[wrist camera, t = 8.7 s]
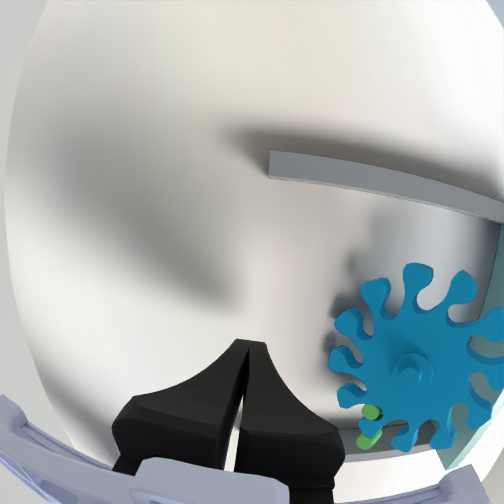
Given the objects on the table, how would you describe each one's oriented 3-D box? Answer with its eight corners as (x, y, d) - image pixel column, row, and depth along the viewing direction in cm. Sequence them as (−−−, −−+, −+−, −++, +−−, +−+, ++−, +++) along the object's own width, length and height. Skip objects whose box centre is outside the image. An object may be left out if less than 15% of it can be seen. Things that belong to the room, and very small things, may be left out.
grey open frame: (436, 426, 16) (456, 466, 11) (240, 432, 17) (230, 487, 12) (512, 212, 12) (564, 222, 7) (271, 157, 13) (268, 137, 8)
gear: (369, 225, 11) (555, 338, 5) (409, 228, 15) (537, 305, 8) (290, 395, 15) (405, 493, 9) (343, 364, 19) (438, 438, 12)
